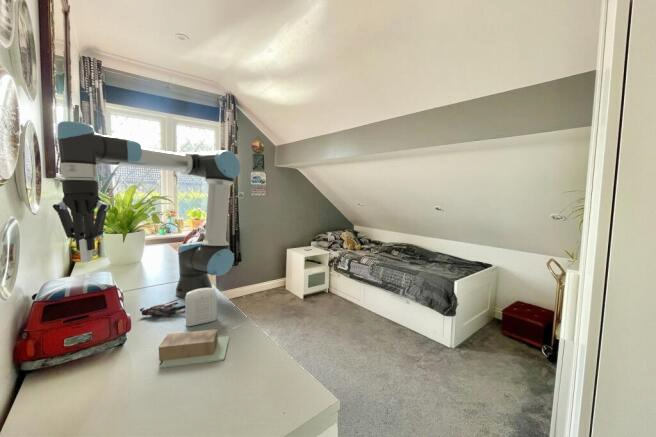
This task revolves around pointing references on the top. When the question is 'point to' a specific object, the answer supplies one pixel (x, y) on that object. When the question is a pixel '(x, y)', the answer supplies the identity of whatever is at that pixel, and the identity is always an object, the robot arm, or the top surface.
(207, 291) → the photo printer
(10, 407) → the top surface
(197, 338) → the walnut block
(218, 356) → the mat
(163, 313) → the action figure
